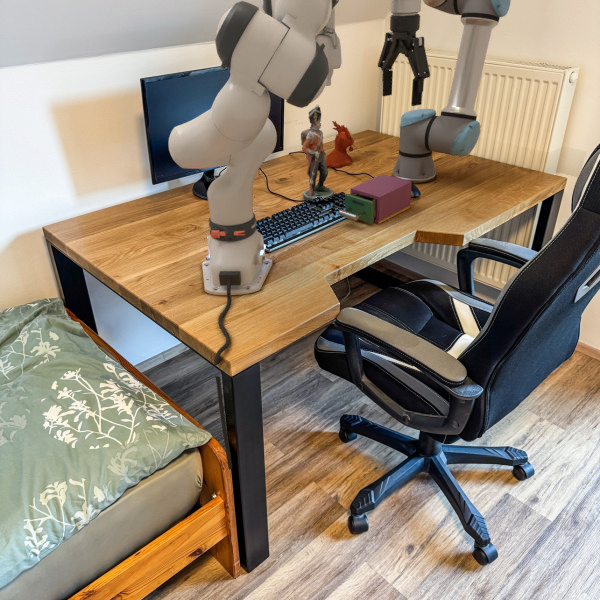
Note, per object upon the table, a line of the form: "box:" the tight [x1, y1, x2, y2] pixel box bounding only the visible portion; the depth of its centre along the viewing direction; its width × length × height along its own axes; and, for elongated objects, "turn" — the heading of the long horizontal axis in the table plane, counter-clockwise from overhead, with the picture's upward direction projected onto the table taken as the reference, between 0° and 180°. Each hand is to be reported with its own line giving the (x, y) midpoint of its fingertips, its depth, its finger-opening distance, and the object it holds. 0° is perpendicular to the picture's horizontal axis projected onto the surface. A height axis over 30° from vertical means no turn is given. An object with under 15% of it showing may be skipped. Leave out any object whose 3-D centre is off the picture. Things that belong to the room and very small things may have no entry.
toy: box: [325, 120, 355, 169], centre depth 216 cm, size 13×18×15 cm
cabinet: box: [349, 173, 413, 225], centre depth 176 cm, size 16×11×9 cm
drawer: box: [337, 193, 377, 224], centre depth 172 cm, size 20×10×7 cm, turn 136°
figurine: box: [300, 103, 335, 202], centre depth 181 cm, size 11×11×30 cm
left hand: (319, 82), depth 150 cm, fingers open, 8 cm apart
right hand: (401, 100), depth 154 cm, fingers open, 13 cm apart
